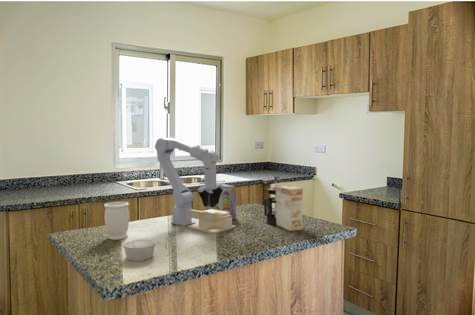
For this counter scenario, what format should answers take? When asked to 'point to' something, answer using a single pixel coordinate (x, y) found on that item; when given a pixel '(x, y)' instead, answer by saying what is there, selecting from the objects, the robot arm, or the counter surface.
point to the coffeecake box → (289, 207)
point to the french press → (270, 205)
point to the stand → (214, 223)
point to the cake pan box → (224, 200)
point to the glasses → (207, 216)
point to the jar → (116, 219)
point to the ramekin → (139, 249)
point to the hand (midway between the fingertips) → (211, 205)
